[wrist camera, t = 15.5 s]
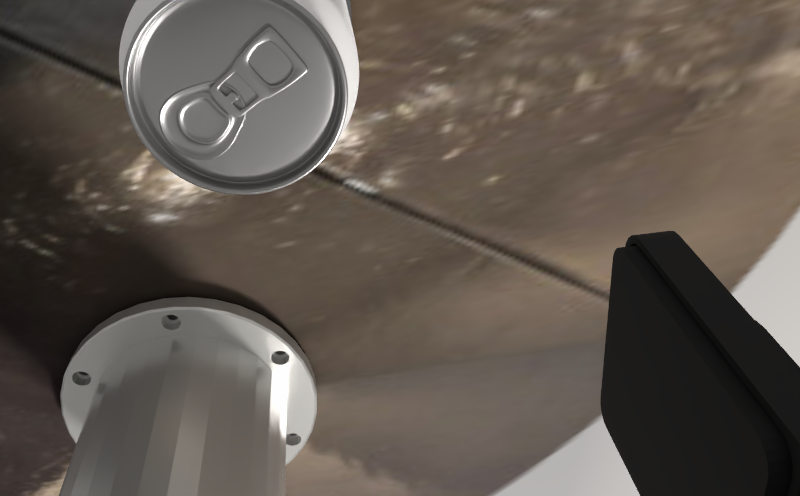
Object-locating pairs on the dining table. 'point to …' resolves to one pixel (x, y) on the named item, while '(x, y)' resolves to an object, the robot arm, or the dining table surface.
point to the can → (239, 87)
